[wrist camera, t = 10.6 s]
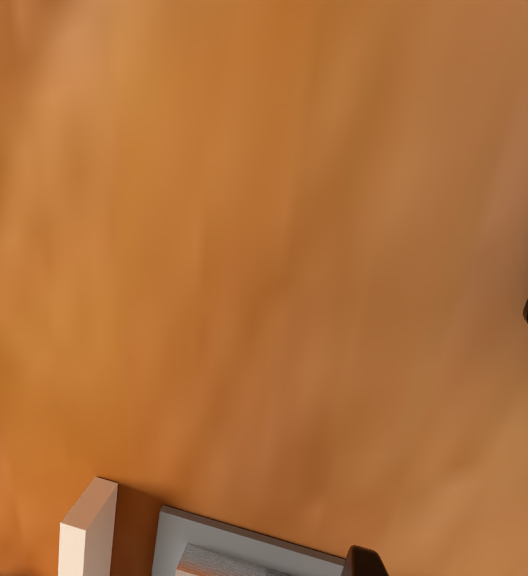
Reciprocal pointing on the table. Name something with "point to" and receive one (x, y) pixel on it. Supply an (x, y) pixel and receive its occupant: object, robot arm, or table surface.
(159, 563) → the pad
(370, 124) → the table surface
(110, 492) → the white l-shaped block
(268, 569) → the aluminium bracket
